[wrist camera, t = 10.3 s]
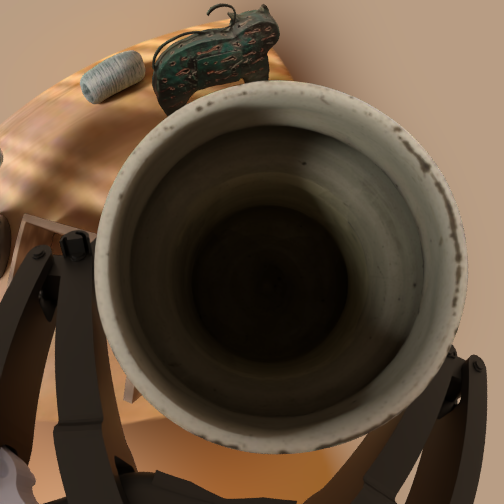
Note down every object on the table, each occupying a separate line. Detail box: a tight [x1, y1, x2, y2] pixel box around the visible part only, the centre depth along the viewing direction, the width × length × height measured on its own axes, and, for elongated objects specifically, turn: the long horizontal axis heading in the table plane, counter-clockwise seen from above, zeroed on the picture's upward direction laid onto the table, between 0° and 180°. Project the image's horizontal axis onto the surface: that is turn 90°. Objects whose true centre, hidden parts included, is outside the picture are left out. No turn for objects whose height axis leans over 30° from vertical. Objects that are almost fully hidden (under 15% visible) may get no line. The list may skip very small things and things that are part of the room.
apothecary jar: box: [94, 80, 468, 454], centre depth 14 cm, size 12×12×18 cm
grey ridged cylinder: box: [80, 51, 146, 104], centre depth 40 cm, size 14×10×10 cm
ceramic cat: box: [152, 4, 280, 116], centre depth 32 cm, size 20×6×20 cm, turn 112°
